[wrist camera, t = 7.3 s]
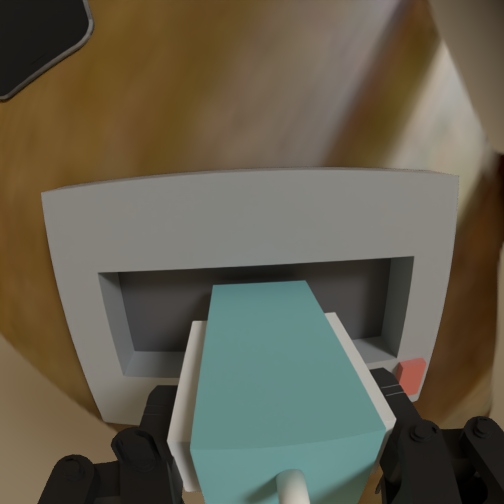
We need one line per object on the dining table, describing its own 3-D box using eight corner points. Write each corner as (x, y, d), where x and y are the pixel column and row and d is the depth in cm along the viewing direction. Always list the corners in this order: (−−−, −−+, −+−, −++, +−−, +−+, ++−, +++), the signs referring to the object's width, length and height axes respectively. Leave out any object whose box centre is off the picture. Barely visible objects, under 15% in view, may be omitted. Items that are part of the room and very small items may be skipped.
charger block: (213, 285, 16) (184, 498, 5) (305, 280, 16) (408, 470, 5) (220, 361, 17) (212, 561, 6) (302, 356, 17) (362, 544, 6)
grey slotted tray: (67, 185, 15) (34, 194, 12) (430, 170, 16) (466, 176, 13) (115, 394, 19) (101, 428, 16) (401, 375, 20) (421, 405, 17)
